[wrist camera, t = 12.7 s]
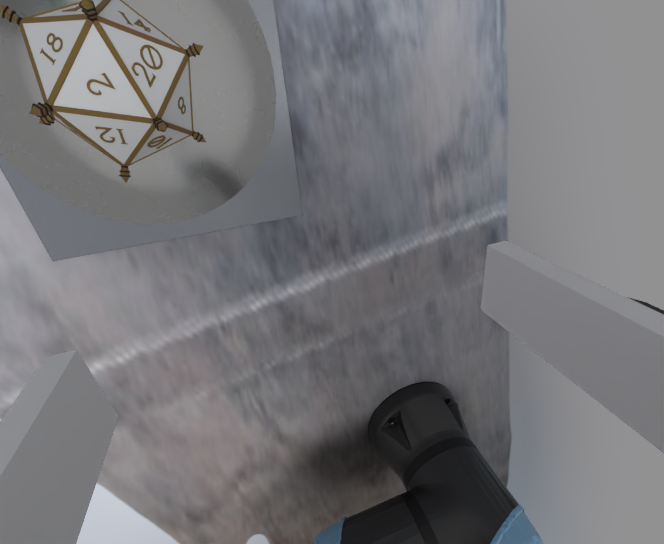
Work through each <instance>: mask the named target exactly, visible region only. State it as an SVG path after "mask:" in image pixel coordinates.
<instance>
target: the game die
mask: <svg viewBox="0 0 664 544" xmlns="http://www.w3.org/2000/svg"><path fill="white" fill-rule="evenodd" d="M0 14H1V15H2V18H6V19H7V20H9V22H10V23H11V22H13V23H16V24H18V25H19V27H20V30H21V33H22V36H23V39H24V42H25V45H26V48H27V52H28V55H29V58H30V61H31V64H32V67H33V70H34V73H35V76H36V79H37V82H38V85H39V88H40V91H41V94H42V98H43V101H44V104H41V103H40V102H38V104H34V103H33V104H32V108H31V111H30V112H29V114H32V115H36V116H37V117H40V122H39V124H45V125H49V126H51V124H54V121H55V120H56V121H57V122H59V123H60V124H61V125H63V126H64V127H66V128H67V129H69V130H70V131H72V132H73V133H74V134H76V135H77V136H79V137H80V138H82V139H83V140H84V141H86V142H87V143H89V144H90V145H92V146H93V147H95V148H96V149H97V150H99V151H100V152H102V153H103V154H105V155H106V156H107V157H109V158H110V159H112V160H113V161H115V162H116V163H118V164H119V165H120V166H121V170H120V171H119V172H120V175H119V176H121V177H122V179H123V180H124V181H125V183H127V181H128V179H129V178H130V177H131V176H130V173H129V172H130V171H129V169H128V166H130V165H132V164H134V163H136V162H138V161H140V160H142V159H144V158H146V157H148V156H150V155H152V154H154V153H157V152H159V151H161V150H163V149H165V148H167V147H169V146H171V145H173V144H175V143H177V142H179V141H181V140H183V139H185V138H187V137H189V136H192V137H193V138H194V140H197V142H206V141H205V139H204V137H203V134H202V135H201V134H200V133H199V132H195V131H194V129H193V111H192V93H191V76H190V56H194V57H196V55H200V52H201V50H202V48H203V46H202V45H197V44H194V43H193V45H191V46H190V45H189V47H188V49H184V48H182V47H181V46H180V45H179V44H177V43H176V42H175V41H173V40H172V39H171V38H170V37H168V36H167V35H166V34H165V33H163V32H162V31H161V30H159V29H158V28H157V27H156V26H154V25H153V24H152V23H151V22H149V21H148V20H147V19H145V18H144V17H143V16H142V15H140V14H139V13H138V12H136V11H135V10H134V9H133V8H131V7H130V6H129V5H128V4H126V3H125V2H124V1H122V0H81V1H80V2H77V3H73V4H70V5H66V6H63V7H59V8H56V9H52V10H49V11H46V12H42V13H39V14H35V15H32V16H28V17H25V18H21V17H19V16H18V15H17V14H16V12H15V11H14V10H13V11H12V10H11V9H10V8H9V6H1V5H0ZM49 113H50V114H49Z"/></svg>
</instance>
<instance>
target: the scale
mask: <svg viewBox="0 0 664 544" xmlns="http://www.w3.org/2000/svg"><path fill="white" fill-rule="evenodd" d="M247 1H248V3H249V4H250V6H251V8H252V10H253V11H254V14H255V16H256V18H257V20H258V23H259V25H260V27H261V29H262V32H263V34H264V37H265V40H266V44H267V47H268V50H269V53H270V57H271V62H272V67H273V72H274V79H275V90H276V108H275V118H274V125H273V131H272V135H271V138H270V142H269V145H268V148H267V150H266V153H265V155H264V157H263V160H262V162H261V163H260V165H259V167H258V168H257V170H256V172H255V173H254V175H253V176H252V177H251V179H250V180H249V181H248V182H247V184H246V185H245V186H244V187H243V188H242V189H241V190H240V191H239V192H238V193H237V194H236V195H235V196H234V197H232V198H231V199H230V200H228V201H227V202H225V203H224V204H223V205H221V206H219V207H218V208H216V209H214V210H212V211H210V212H208V213H206V214H203V215H200V216H198V217H195V218H192V219H188V220H184V221H180V222H174V223H165V224H138V223H129V222H122V221H118V220H113V219H108V218H104V217H101V216H98V215H95V214H92V213H89V212H86V211H84V210H82V209H79V208H77V207H75V206H73V205H70V204H68V203H66V202H64V201H62V200H61V199H59V198H57V197H55V196H54V195H52V194H50V193H48V192H47V191H45V190H44V189H42V188H41V187H39V186H38V185H37V184H35V183H34V182H32V181H31V180H29V179H28V178H27V177H26V176H24V175H23V174H22V173H21V172H20V171H18V170H17V169H16V168H15V167H14V166H13V165H11V164H10V163H9V162H8V161H7V160H6V159H5V158H4V157H3V156H2V155H1V154H0V168H1V170H2V172H3V173H4V175H5V177H6V179H7V181H8V182H9V184H10V186H11V188H12V189H13V191H14V193H15V195H16V197H17V198H18V200H19V202H20V204H21V206H22V207H23V209H24V211H25V213H26V215H27V216H28V218H29V220H30V222H31V223H32V225H33V227H34V229H35V231H36V232H37V234H38V236H39V238H40V240H41V241H42V243H43V245H44V247H45V249H46V250H47V252H48V254H49V256H50V258H51V259H52V261H57V260H63V259H68V258H74V257H79V256H84V255H90V254H95V253H101V252H106V251H111V250H117V249H122V248H128V247H133V246H139V245H144V244H149V243H155V242H160V241H166V240H171V239H177V238H182V237H187V236H193V235H198V234H204V233H209V232H214V231H220V230H225V229H231V228H236V227H242V226H247V225H252V224H258V223H263V222H269V221H274V220H280V219H285V218H290V217H296V216H301V215H303V213H302V206H301V199H300V192H299V184H298V177H297V170H296V162H295V155H294V148H293V141H292V133H291V126H290V119H289V111H288V104H287V97H286V89H285V82H284V75H283V68H282V60H281V53H280V46H279V38H278V31H277V24H276V16H275V9H274V2H273V0H247Z"/></svg>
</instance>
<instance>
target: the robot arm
mask: <svg viewBox="0 0 664 544" xmlns="http://www.w3.org/2000/svg"><path fill="white" fill-rule="evenodd" d="M481 311H483V312H484V313H485V314H487V315H488V316H489V317H490V318H492V319H493V320H494V321H496V322H497V323H498V324H499V325H501V326H502V327H503V328H504V329H506V330H507V331H508V332H510V333H511V334H512V335H513V336H515V337H516V338H517V339H519V340H520V341H521V342H522V343H524V344H525V345H526V346H528V347H529V348H530V349H531V350H533V351H534V352H535V353H536V354H538V355H539V356H540V357H542V358H543V359H544V360H545V361H547V362H548V363H549V364H550V365H552V366H553V367H554V368H556V369H557V370H558V371H559V372H561V373H562V374H563V375H565V376H566V377H567V378H569V379H570V380H571V381H572V382H574V383H575V384H576V385H577V386H579V387H580V388H581V389H582V390H584V391H585V392H586V393H588V394H589V395H590V396H591V397H593V398H594V399H595V400H597V401H598V402H599V403H600V404H602V405H603V406H604V407H605V408H607V409H608V410H609V411H611V412H612V413H613V414H615V415H616V416H617V417H618V418H619V419H621V420H622V421H623V422H625V423H626V424H627V425H628V426H630V427H631V428H632V429H634V430H635V431H636V432H637V433H639V434H640V435H641V436H642V437H644V438H645V439H646V440H648V441H649V442H650V443H651V444H653V445H654V446H655V447H657V448H658V449H659V450H660V451H662V452H663V453H664V311H663V310H661V309H659V308H657V307H654V306H652V305H650V304H648V303H645V302H642V301H638V300H635V299H632V298H628V297H625V296H623V295H621V294H618V293H617V292H615V291H612V290H610V289H608V288H606V287H604V286H601V285H600V284H597V283H595V282H593V281H591V280H589V279H587V278H584V277H582V276H580V275H578V274H576V273H574V272H572V271H570V270H568V269H565V268H563V267H561V266H559V265H557V264H555V263H553V262H551V261H548V260H546V259H544V258H542V257H540V256H538V255H536V254H534V253H531V252H529V251H527V250H525V249H523V248H521V247H519V246H516V245H514V244H512V243H510V242H508V241H502V242H498V243H494V244H490V245H487V253H486V263H485V273H484V282H483V292H482V301H481ZM117 420H118V416H117V414H116V412H115V411H114V409H113V407H112V406H111V404H110V403H109V401H108V399H107V398H106V396H105V394H104V393H103V391H102V390H101V388H100V386H99V385H98V383H97V381H96V380H95V378H94V377H93V375H92V373H91V372H90V370H89V368H88V367H87V365H86V364H85V362H84V360H83V359H82V357H81V355H80V354H79V352H78V351H77V350H73V351H69V352H65V353H61V354H57V355H53V356H49V357H46V358H45V359H44V361H43V362H42V363H41V365H40V366H39V368H38V369H37V370H36V372H35V373H34V375H33V376H32V378H31V379H30V380H29V382H28V383H27V385H26V386H25V387H24V389H23V390H22V392H21V393H20V395H19V396H18V397H17V399H16V400H15V402H14V403H13V404H12V406H11V407H10V409H9V410H8V411H7V413H6V414H5V416H4V417H3V419H2V420H1V421H0V544H76V542H77V539H78V536H79V533H80V530H81V527H82V524H83V521H84V518H85V515H86V512H87V509H88V506H89V503H90V500H91V497H92V494H93V491H94V488H95V485H96V482H97V479H98V476H99V473H100V470H101V467H102V464H103V461H104V459H105V456H106V453H107V450H108V447H109V444H110V441H111V438H112V435H113V432H114V429H115V426H116V423H117ZM368 432H369V437H370V439H371V442H372V444H373V446H374V448H375V450H376V452H377V453H378V454H379V455H380V456H381V458H382V459H383V460H384V461H385V462H386V463H387V464H388V465H389V466H390V467H391V468H392V470H393V471H394V472H395V473H396V474H397V475H398V476H399V477H400V478H401V480H402V482H403V484H404V486H405V488H406V490H407V492H405V493H403V494H401V495H398V496H396V497H394V498H392V499H389V500H387V501H385V502H383V503H380V504H378V505H376V506H374V507H371V508H369V509H367V510H365V511H363V512H360V513H358V514H356V515H353V516H351V517H348V518H347V517H345V518H342V519H341V521H340V522H338V523H336V524H334V525H332V526H331V527H329V528H327V529H325V530H323V531H321V532H320V533H319V534H318V535H317V537H316V538H315V540H314V543H313V544H543V541H542V539H541V537H540V536H539V534H538V532H537V531H536V530H535V528H534V527H533V525H532V524H531V522H530V521H529V519H528V518H527V516H526V515H525V513H524V509H523V508H522V506H520V505H519V504H518V503H517V501H516V500H515V499H514V497H513V496H512V495H511V493H510V492H509V491H508V490H507V488H506V487H505V485H504V484H503V482H502V481H501V480H500V478H499V477H498V476H497V474H496V473H495V472H494V470H493V469H492V468H491V466H490V465H489V464H488V462H487V461H486V460H485V458H484V457H483V456H482V454H481V453H480V452H479V450H478V449H477V448H476V446H475V445H474V443H473V442H472V441H471V439H470V438H469V435H468V432H467V429H466V427H465V424H464V421H463V418H462V415H461V412H460V410H459V407H458V404H457V402H456V400H455V399H454V398H453V396H452V395H451V394H450V392H449V391H448V390H447V389H446V388H445V387H444V386H442V385H440V384H436V383H420V384H415V385H412V386H409V387H406V388H404V389H402V390H400V391H398V392H397V393H395V394H393V395H392V396H391V397H389V398H388V399H387V400H386V401H384V402H383V403H382V404H381V405H380V407H379V408H378V409H377V410H376V412H375V413H374V415H373V416H372V418H371V421H370V424H369V429H368Z"/></svg>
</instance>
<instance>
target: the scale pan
mask: <svg viewBox="0 0 664 544" xmlns="http://www.w3.org/2000/svg"><path fill="white" fill-rule="evenodd" d="M80 1H81V0H0V5H1V6H9V8H10V9H11V10H12V11H13V10H14V11H15V12H16V14H17V15H18V16H19V17H21V18H25V17H28V16H32V15H35V14H39V13H42V12H46V11H49V10H52V9H56V8H59V7H63V6H66V5H70V4H73V3H77V2H80ZM122 1H124V2H125V3H126V4H128V5H129V6H130V7H131V8H133V9H134V10H135V11H136V12H138V13H139V14H140V15H142V16H143V17H144V18H145V19H147V20H148V21H149V22H151V23H152V24H153V25H154V26H156V27H157V28H158V29H159V30H161V31H162V32H163V33H165V34H166V35H167V36H168V37H170V38H171V39H172V40H173V41H175V42H176V43H177V44H179V45H180V46H181V47H182V48H184V49H188V47H189V45H190V46H191V45H193V43H194V44H197V45H202V46H203V48H202V50H201V52H200V55H196V57H194V56H190V76H191V93H192V111H193V129H194V131H195V132H199V133H200V134H201V135H202V134H203V137H204V139H205V141H206V142H197V140H194V138H193V137H192V136H189V137H187V138H185V139H183V140H181V141H179V142H177V143H175V144H173V145H171V146H169V147H167V148H165V149H163V150H161V151H159V152H157V153H154V154H152V155H150V156H148V157H146V158H144V159H142V160H140V161H138V162H136V163H134V164H132V165H130V166H128V169H129V171H130V172H129V173H130V176H131V177H130V178H129V179H128V181H127V183H125V181H124V180H123V179H122V177H121V176H119V175H120V172H119V171H120V170H121V166H120V165H119V164H118V163H116V162H115V161H113V160H112V159H110V158H109V157H107V156H106V155H105V154H103V153H102V152H100V151H99V150H97V149H96V148H95V147H93V146H92V145H90V144H89V143H87V142H86V141H84V140H83V139H82V138H80V137H79V136H77V135H76V134H74V133H73V132H72V131H70V130H69V129H67V128H66V127H64V126H63V125H61V124H60V123H59V122H57V121H56V120H55V121H54V124H51V126H49V125H45V124H39V122H40V117H37V116H36V115H32V114H29V112H30V111H31V108H32V104H33V103H34V104H38V102H40V103H41V104H44V101H43V98H42V94H41V91H40V88H39V85H38V82H37V79H36V76H35V73H34V70H33V67H32V64H31V61H30V58H29V55H28V52H27V48H26V45H25V42H24V39H23V36H22V33H21V30H20V27H19V25H18V24H16V23H13V22H11V23H10V22H9V20H7V19H6V18H2V15H1V14H0V154H1V155H2V156H3V157H4V158H5V159H6V160H7V161H8V162H9V163H10V164H11V165H13V166H14V167H15V168H16V169H17V170H18V171H20V172H21V173H22V174H23V175H24V176H26V177H27V178H28V179H29V180H31V181H32V182H34V183H35V184H37V185H38V186H39V187H41V188H42V189H44V190H45V191H47V192H48V193H50V194H52V195H54V196H55V197H57V198H59V199H61V200H62V201H64V202H66V203H68V204H70V205H73V206H75V207H77V208H79V209H82V210H84V211H86V212H89V213H92V214H95V215H98V216H101V217H104V218H108V219H113V220H118V221H122V222H129V223H138V224H165V223H174V222H180V221H184V220H188V219H192V218H195V217H198V216H200V215H203V214H206V213H208V212H210V211H212V210H214V209H216V208H218V207H219V206H221V205H223V204H224V203H225V202H227V201H228V200H230V199H231V198H232V197H234V196H235V195H236V194H237V193H238V192H239V191H240V190H241V189H242V188H243V187H244V186H245V185H246V184H247V182H248V181H249V180H250V179H251V177H252V176H253V175H254V173H255V172H256V170H257V168H258V167H259V165H260V163H261V162H262V160H263V157H264V155H265V153H266V150H267V148H268V145H269V142H270V138H271V135H272V131H273V125H274V118H275V108H276V90H275V79H274V72H273V67H272V62H271V57H270V53H269V50H268V47H267V44H266V40H265V37H264V34H263V32H262V29H261V27H260V25H259V23H258V20H257V18H256V16H255V14H254V11H253V10H252V8H251V6H250V4H249V3H248V1H247V0H122ZM49 114H50V113H49Z"/></svg>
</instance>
